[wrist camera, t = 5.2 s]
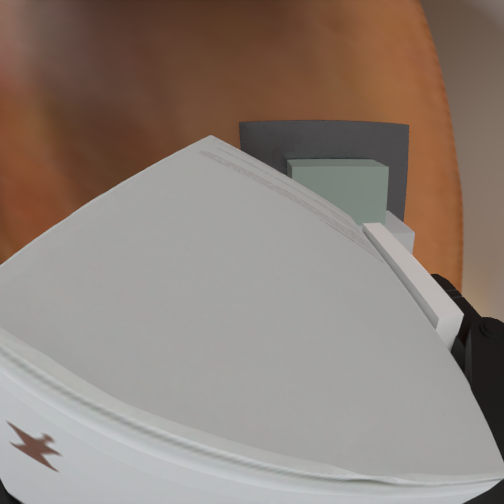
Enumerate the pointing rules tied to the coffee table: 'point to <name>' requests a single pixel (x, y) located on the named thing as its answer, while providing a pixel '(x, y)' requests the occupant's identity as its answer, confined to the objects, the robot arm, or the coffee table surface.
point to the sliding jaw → (352, 190)
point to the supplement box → (226, 354)
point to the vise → (333, 147)
